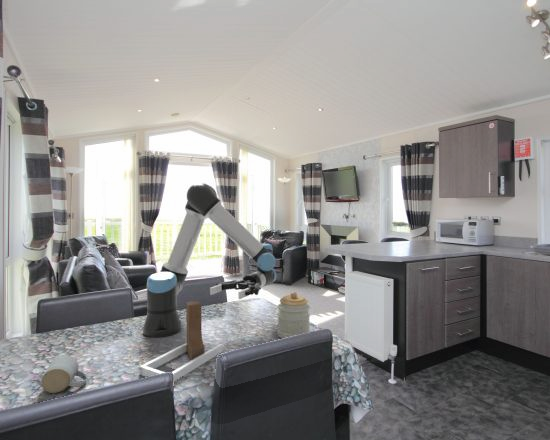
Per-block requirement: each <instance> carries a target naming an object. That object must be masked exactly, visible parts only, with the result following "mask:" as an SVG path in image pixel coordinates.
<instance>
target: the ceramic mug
mask: <svg viewBox="0 0 550 440" xmlns="http://www.w3.org/2000/svg"><path fill="white" fill-rule="evenodd" d="M46 368H47V369H46V370H45V372H44V373H43V375H42V377H41V380H40V381H41V382H40V383H41V384H40V385H41V388H42V389H43V390H44V391H45V392H46V393H50V394H58V393H61V392H63V391H64V390H66V389H67V388H68V387H71V388H82V387H84V386H85V385H84V384H86V383H87V380H88V375H87V374H86V373H85V372H84V371H81V370H79V362H78V361H77V359H75V358H74V357H73V356H70V355H60V356H57V357H55V358H54V359H52V360H51V362H50V363H49V365H48V367H46ZM76 376H77V377H79V378H81V380H83V381H79V382H78V381H73V379H74V378H75V377H76ZM57 392H58V393H57Z"/></svg>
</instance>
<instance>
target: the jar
mask: <svg viewBox="0 0 550 440" xmlns="http://www.w3.org/2000/svg"><path fill="white" fill-rule="evenodd" d="M279 302H280V303H279V304H277V309H278V312H277V335H278V337H279V338H281V339H282V338H285V337H290V336H294V335H299V334H303V333H307V332H310V333H311V330H310V317H311V315H310V313H309V312H310V311H309V310H310V308H311V307H310V305H309V304H308V303H309V301H308V299H307V298H305V296H303V295H298V293H297V292H296V291H292V292H291V293H290V295H289V294H288V295H284V296H283V297H282V298H280V299H279Z"/></svg>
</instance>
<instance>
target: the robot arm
mask: <svg viewBox="0 0 550 440" xmlns="http://www.w3.org/2000/svg"><path fill="white" fill-rule="evenodd" d="M217 195H218V194H217V191H216V190H215V188H214V187H212V186H211V185H209V184H207V183H204V182H197V183H194V184H192V185H191V186H189V188H188V190H187V192H186V200H187V201H186V204H185V207H184V210H185V211H186V214H185V216H184V219H183V222H182V224H181V227H180V228H179V232H178V235H177V237H176V239H175V242H174V245H173V247H172V250H171V253H170V255H169V258H168V260H167V262H164V263H163V264H162V266H161V270H160V271H159V272H155V273H152V274H151V275H149V276H148V277H147V281H146V300H147V303H146V304H147V305H146V306H147V307H146V309H147V313H146V317H145V321H144V324H143V327H142V333H143V335H144V336H146V337H150V338H163V337H169V336H172V335H175V334H177V333H179V332H180V331H181V330H182V321H181V319H180V316H179V313H178V301H177V299H178V295H179V293H180V292H182V290H183V289H184V287H185V285H186V283H185V282H186V279H187V276H188V273H189V270H188V268H187V266H188V264H189V262H190V258H191V256H192V253H193V251H194V248H195V245H196V243H197V241H198V238H199V235H200V233H201V230H202V227H203V225H204V223H205V220H206V219H210V221H211V222H213V224H215V225H216V226H217V227H218V228H219V229H220V230H221V231H222V232H223V233H224V234H225V235H226V236H227V237H228V238H229V239H230V240H231V241H232V242H233V243H234V244H236V246H237V247H239V248H240V250H242V251H243V252H244V253H245V254H246V255H247V256H248V257H249V258H250V259H251V260H252V261H253V262H254V263H255V264H256V271H254V272H252V273H249V274H247V275H246V274H245V276H243V278H242V279H240V280H237V279H234V280H228V281H224V282H223V281H222V282H216V283H215V286H212V287H211V286H210V287H209V295H210V296H212V295H216V294H217V293H221V292H222V291H227V290H236V291H237V290H240V291H238V300H242V299H244V298H246V297H248V296H252V295H255V296H258V295H259V293H260V290H262V289H263V288H264V287H266V286H270V285H271V284H272V283H274V282H276V280H277V277H278V276H277V271H276V270H275V269H274V267H275V266H276V256H275V255H273V250H274V249H273V245H272V244H271V243H261V242H260V241H259V240H258V239H257V238H256V237H255V236H254V235H253V234H252V233H251V232H250V231H249V230H247V228H246V227H244V225H242V223H240V222H239V220H238V219H236V217H234V216H233V215H232V213H230V212H229V211H228V210H227V209H226V208H225V207H224V206H223V205H222V201H221V200H220V199H219V198H218V196H217Z"/></svg>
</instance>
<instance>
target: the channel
mask: <svg viewBox="0 0 550 440" xmlns="http://www.w3.org/2000/svg"><path fill="white" fill-rule="evenodd" d="M222 352H223V344H220V343H219V344H218V345H216V346H214V347H212V348H211V349H209V350H207V351H204V354H202V355H200V356H198V357H197V358H195V359H193V360H192V361H191V360H189V361H188V362H186V363H185V364H183V365H181V366H179V367H177V368H173V367H169V366H166V365H164V364H166V363H168V362H169V361H172V360H174V359H176V358H177V357H180V356H181V355H183V354H185V353H187V342H185V343H184V344H181V345H179V346H177V347H175V348H173V349H171V350H169V351H168V352H166V353H164V354H162V355H159V356H157V357H155V358H154V359H153V358H152V359H151V360H150V361H148V362H146V363H144V364H142V365H140V366H139V375H141V376H143V377H145V378H148V377H147V376H151V375H156V374H161V373H165V372H172V373H173V375H174V382H176V381H178V380H179V379H181V378H183V377H184V376H186V375H188V374H190V373H191V372H192V371H194V370H195V369H197V368H198V367H200V366H202V365H203V364H205V363H207V362H208V361H210V360H211V359H214V357H216V356H218V355H219V354H221V353H222ZM217 354H218V355H217ZM182 376H183V377H182ZM180 377H181V378H180ZM177 379H178V380H177ZM174 382H173V383H174Z"/></svg>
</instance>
